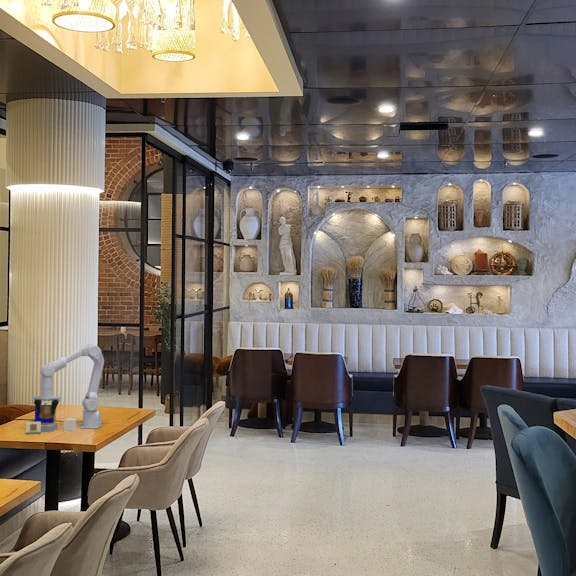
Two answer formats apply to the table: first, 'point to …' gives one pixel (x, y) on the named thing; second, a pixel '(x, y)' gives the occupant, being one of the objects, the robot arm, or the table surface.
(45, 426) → the base block
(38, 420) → the puzzle cube
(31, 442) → the table surface
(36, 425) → the cream-edged tan board
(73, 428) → the off-white block
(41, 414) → the walnut block
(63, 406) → the table surface
